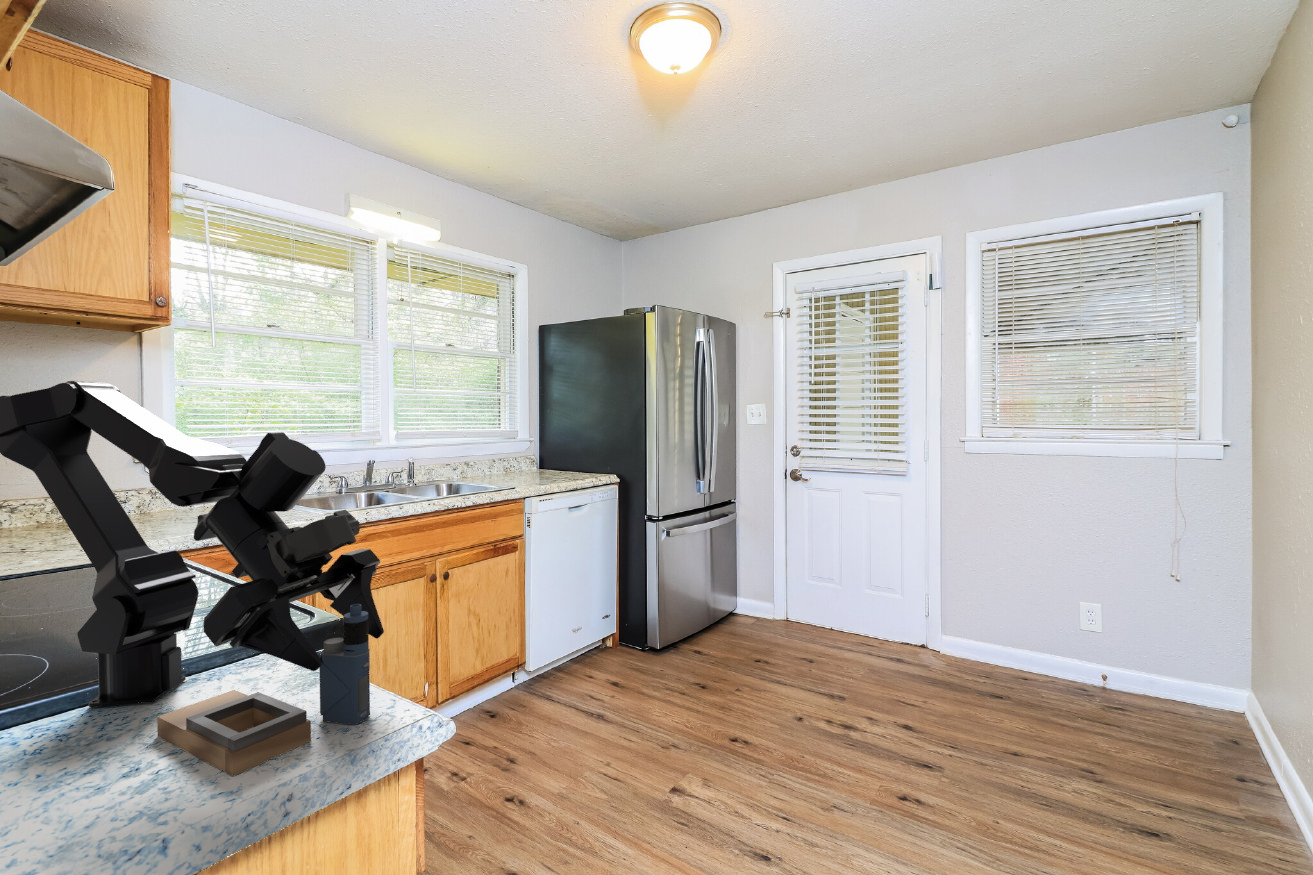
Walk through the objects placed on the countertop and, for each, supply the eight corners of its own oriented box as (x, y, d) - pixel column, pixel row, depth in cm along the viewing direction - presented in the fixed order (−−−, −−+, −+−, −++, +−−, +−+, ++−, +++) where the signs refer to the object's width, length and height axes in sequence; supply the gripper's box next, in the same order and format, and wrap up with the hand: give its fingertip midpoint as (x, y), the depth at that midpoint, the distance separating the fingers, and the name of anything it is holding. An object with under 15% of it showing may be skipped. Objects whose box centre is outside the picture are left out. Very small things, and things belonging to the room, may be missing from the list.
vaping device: (359, 726, 63) (358, 609, 63) (314, 721, 64) (312, 606, 64) (375, 715, 66) (374, 602, 66) (332, 710, 67) (330, 599, 67)
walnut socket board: (157, 736, 62) (156, 706, 61) (234, 707, 68) (233, 680, 68) (232, 776, 55) (232, 742, 54) (311, 740, 61) (310, 710, 61)
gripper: (225, 500, 56) (332, 629, 54) (364, 480, 75) (449, 576, 73) (158, 582, 58) (259, 710, 56) (310, 544, 77) (391, 639, 74)
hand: (351, 650), depth 65 cm, fingers open, 9 cm apart
